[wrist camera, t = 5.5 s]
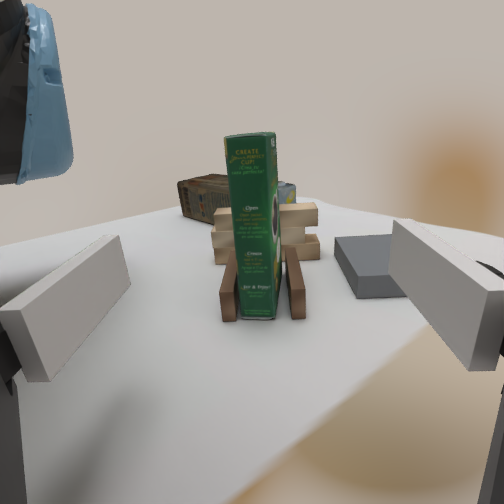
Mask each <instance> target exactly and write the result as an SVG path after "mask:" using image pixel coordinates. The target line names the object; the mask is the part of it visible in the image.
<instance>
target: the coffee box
mask: <svg viewBox="0 0 504 504" xmlns="http://www.w3.org/2000/svg"><path fill="white" fill-rule="evenodd" d="M224 146H225V157H226V164H227V173H228V184H229V194H230V204H231V213H232V224H233V234H234V245H235V254H236V265H237V279H238V289H239V298H240V311H241V317H242V318H244V319H263V320H266V319H267V320H269V319H271V318H275V315H276V309H277V301H278V295H279V289H280V282H281V276H282V255H281V230H280V211H279V192H278V171H277V152H276V134H275V132H259V133H248V134H239V135H231V136H226V137H224Z"/></svg>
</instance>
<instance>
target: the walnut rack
mask: <svg viewBox="0 0 504 504" xmlns="http://www.w3.org/2000/svg"><path fill="white" fill-rule="evenodd" d="M285 268H286V278H287V285H288V293H289V300H290V307H291V315H292V319H305V318H306V300H305V285H304V281H303V277H302V273H301V268H300V264H299V260H298V256H297V252H296V248H295V247H292V248H285ZM219 296H220V304H221V312H222V320H223V321H236V317H237V310H238V304H239V289H238V279H237V265H236V254H235V250H233V251H230V254H229V258H228V262H227V265H226V269H225V273H224V276H223V280H222V284H221V287H220V291H219Z"/></svg>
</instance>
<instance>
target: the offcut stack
mask: <svg viewBox="0 0 504 504" xmlns="http://www.w3.org/2000/svg"><path fill="white" fill-rule="evenodd" d="M279 211H280V230H281V255H282V261H285V248H292V247H295V248H296V252H297V256H298V260H316V259H320V242H319V240H318V238H317V236H316V234H305V227H309V226H318V208H317V206H316V205H315V203H314V202H312V203H296V204H279ZM214 221H215V225H214V227H213V229H212V231H211V237H212V245H213V248H214V255H215V263H216V264H227V262H228V258H229V254H230V251H233V250H235V245H234V234H233V224H232V213H231V207H229V208H217V210H216V212H215V213H214Z"/></svg>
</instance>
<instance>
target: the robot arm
mask: <svg viewBox="0 0 504 504" xmlns="http://www.w3.org/2000/svg"><path fill="white" fill-rule="evenodd" d="M72 162H73V147H72V139H71V132H70V125H69V119H68V113H67V107H66V101H65V94H64V89H63V84H62V76H61V71H60V64H59V57H58V51H57V45H56V38H55V33H54V28H53V22H52V18H51V16H50V14H49V13H48V12H47V11H46V10H44V9H42V8H37V7H36V6H35V5H34V4H26V5H25V6H23V4H22V2H21V0H0V185H4V184H13V183H15V184H16V185H20V184H23V183H25V181H28V180H35V179H41V178H47V177H54V176H58V175H61V174H63V173H65V172H66V171H67V170H68V169H69V167H71V165H72ZM388 273H389V275H390V276H391V277H392V278H393V280H394V281H395V282H396V283H397V284H398V286H399V287H400V288H401V289H402V291H403V292H404V293H405V294H406V295H407V297H408V298H409V299H410V300H411V302H412V303H413V304H414V305H415V306H416V308H417V309H418V310H419V311H420V313H421V314H422V315H423V316H424V318H425V319H426V320H427V321H428V322H429V324H430V325H431V326H432V327H433V329H434V330H435V331H436V332H437V333H438V334H439V336H440V337H441V338H442V340H443V341H444V342H445V343H446V345H447V346H448V347H449V348H450V349H451V351H452V352H453V353H454V354H455V355H456V357H457V358H458V359H459V360H460V361H461V363H462V364H463V365H464V367H465V368H466V369H467V370H468V371H495V369H496V366H497V362H498V359H499V356H500V354H501V355H502V356H503V357H504V275H503V273H502V272H500V271H498V270H497V269H495V268H494V267H492V266H490V265H487V264H484V263H482V262H479V261H474V260H473V259H471V258H470V257H468V256H467V255H465V254H464V253H462V252H461V251H459V250H458V249H456V248H455V247H453V246H452V245H450V244H449V243H447V242H446V241H444V240H443V239H441V238H440V237H438V236H437V235H435V234H434V233H432V232H431V231H429V230H428V229H426V228H424V227H423V226H421V225H420V224H418V223H417V222H415V221H414V220H412V219H410V218H409V219H394V221H393V231H392V240H391V250H390V259H389V269H388ZM130 285H131V282H130V278H129V274H128V270H127V266H126V262H125V258H124V254H123V250H122V246H121V242H120V238H119V235H104V236H102V237H101V238H99V239H98V240H96V241H95V242H94V243H92V244H91V245H89V246H88V247H86V248H85V249H84V250H82V251H81V252H79V253H78V254H76V255H75V256H74V257H72V258H71V259H69V260H68V261H66V262H65V263H63V264H62V265H61V266H59V267H58V268H56V269H55V270H53V271H52V272H51V273H49V274H48V275H46V276H45V277H43V278H42V279H41V280H39V281H38V282H36V283H35V284H33V285H32V286H31V287H29V288H28V289H26V290H25V291H23V292H22V293H21V294H19V295H18V296H16V297H15V298H13V299H12V300H10V301H9V302H8V303H6V304H5V305H3V306H2V307H0V504H27V497H26V485H25V474H24V463H23V451H22V440H21V429H20V417H19V406H18V395H17V385H16V383H15V381H14V379H13V376H14V375H15V374H16V373H17V372H18V371H19V370H20V369H21V368H22V371H23V373H24V375H25V377H26V379H27V382H50V381H51V380H52V379H53V378H54V376H55V375H56V374H57V373H58V372H59V370H60V369H61V368H62V367H63V366H64V364H65V363H66V362H67V361H68V360H69V358H70V357H71V356H72V355H73V354H74V352H75V351H76V350H77V349H78V348H79V346H80V345H81V344H82V343H83V342H84V340H85V339H86V338H87V337H88V336H89V334H90V333H91V332H92V331H93V330H94V328H95V327H96V326H97V325H98V324H99V322H100V321H101V320H102V319H103V317H104V316H105V315H106V314H107V313H108V311H109V310H110V309H111V308H112V307H113V305H114V304H115V303H116V302H117V301H118V299H119V298H120V297H121V296H122V295H123V293H124V292H125V291H126V290H127V289H128V287H129V286H130ZM501 394H502V398H501V403H500V407H499V411H498V415H497V420H496V424H495V429H494V433H493V438H492V442H491V446H490V451H489V455H488V459H487V464H486V468H485V473H484V477H483V481H482V486H481V490H480V495H479V499H478V503H477V504H504V385H503V388H502V392H501Z"/></svg>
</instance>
